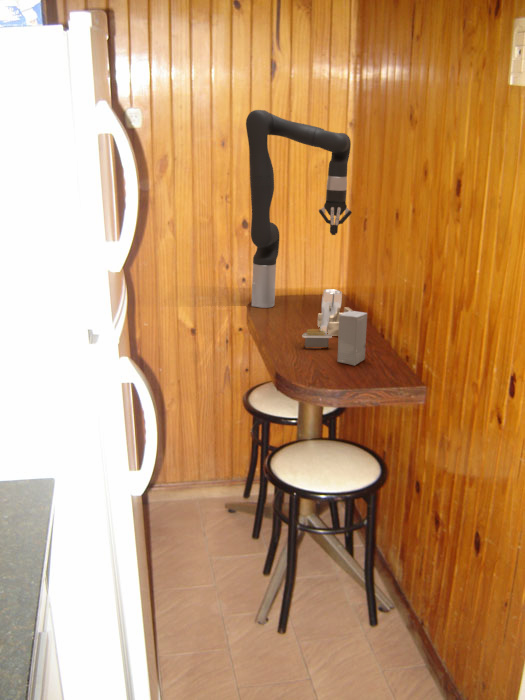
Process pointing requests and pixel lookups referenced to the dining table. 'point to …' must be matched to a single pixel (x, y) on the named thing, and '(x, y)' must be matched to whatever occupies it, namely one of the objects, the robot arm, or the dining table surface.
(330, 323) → the bracket
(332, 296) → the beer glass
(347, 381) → the dining table surface
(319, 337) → the platform
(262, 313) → the dining table surface
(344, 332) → the skincare box
